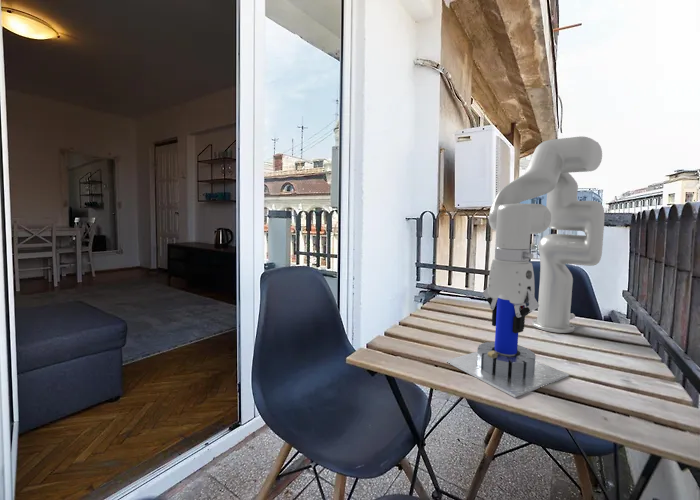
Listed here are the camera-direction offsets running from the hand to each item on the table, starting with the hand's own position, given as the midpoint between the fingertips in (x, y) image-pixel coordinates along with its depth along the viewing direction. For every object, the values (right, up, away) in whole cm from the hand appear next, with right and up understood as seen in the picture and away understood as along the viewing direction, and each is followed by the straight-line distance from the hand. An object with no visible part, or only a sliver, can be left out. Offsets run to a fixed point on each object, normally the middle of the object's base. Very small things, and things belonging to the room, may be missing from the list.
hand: (507, 327), depth 88 cm
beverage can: (0, -7, +1) cm, 7 cm away
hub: (0, -11, +1) cm, 11 cm away
